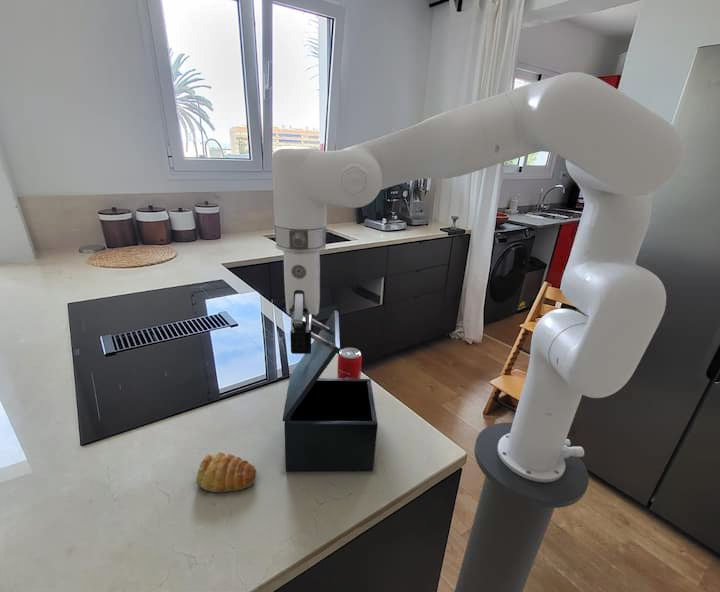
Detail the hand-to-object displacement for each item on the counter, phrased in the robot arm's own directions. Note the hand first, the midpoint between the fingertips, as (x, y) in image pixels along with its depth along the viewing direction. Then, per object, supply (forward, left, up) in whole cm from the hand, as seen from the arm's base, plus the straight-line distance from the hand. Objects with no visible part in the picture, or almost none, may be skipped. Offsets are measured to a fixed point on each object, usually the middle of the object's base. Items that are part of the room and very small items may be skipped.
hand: (302, 341), depth 66 cm
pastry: (+13, +8, -23) cm, 27 cm away
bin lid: (-2, 0, -4) cm, 5 cm away
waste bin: (-5, 0, -23) cm, 23 cm away
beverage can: (-9, -15, -23) cm, 29 cm away
